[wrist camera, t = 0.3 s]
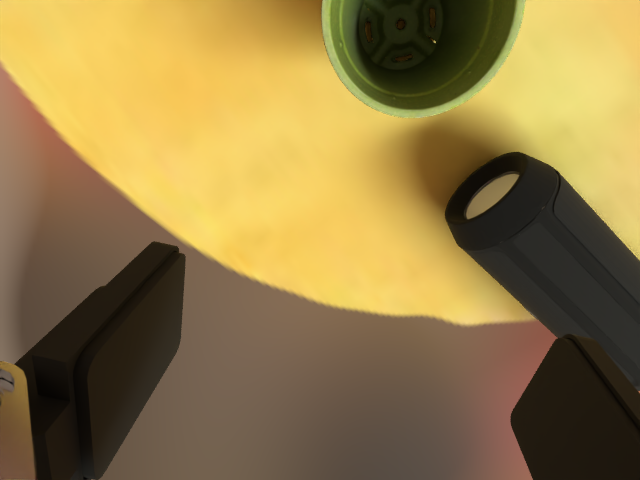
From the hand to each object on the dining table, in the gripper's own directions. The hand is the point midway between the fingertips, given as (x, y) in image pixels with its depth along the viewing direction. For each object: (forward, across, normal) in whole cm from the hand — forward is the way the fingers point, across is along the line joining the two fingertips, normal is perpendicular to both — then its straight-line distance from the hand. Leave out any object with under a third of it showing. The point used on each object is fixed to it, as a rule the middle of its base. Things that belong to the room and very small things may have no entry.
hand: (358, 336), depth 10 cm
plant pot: (+31, -2, -9) cm, 32 cm away
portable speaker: (+31, -22, +8) cm, 39 cm away
